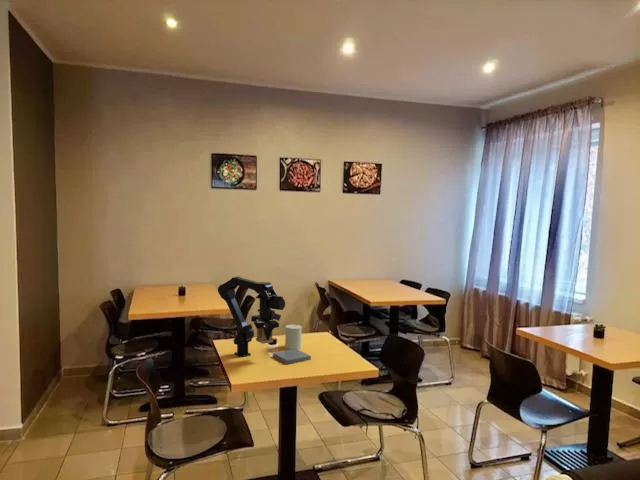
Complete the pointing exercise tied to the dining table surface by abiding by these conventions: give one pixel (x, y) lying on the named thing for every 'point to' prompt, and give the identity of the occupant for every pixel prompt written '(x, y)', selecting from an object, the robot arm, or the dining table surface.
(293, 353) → the slab
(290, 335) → the can
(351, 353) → the dining table surface
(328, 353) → the dining table surface
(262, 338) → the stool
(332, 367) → the dining table surface
